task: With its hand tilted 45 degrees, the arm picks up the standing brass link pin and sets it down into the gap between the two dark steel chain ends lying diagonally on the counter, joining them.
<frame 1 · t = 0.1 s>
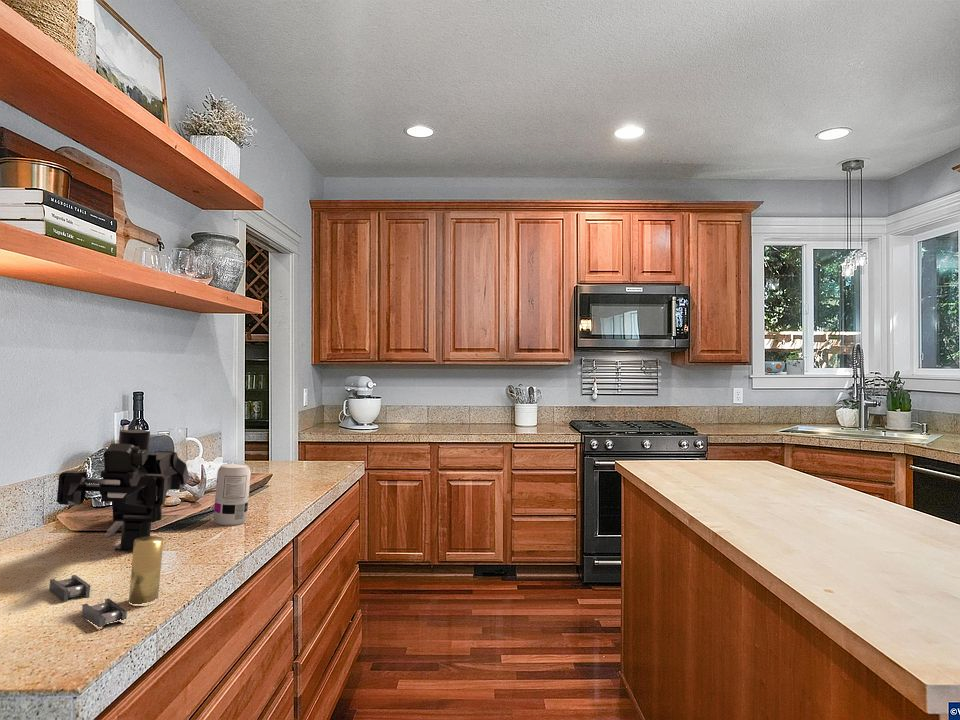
hand: (96, 499, 112), 17 cm above the countertop, tool horizontal, fingers open, 9 cm apart
caliper: (124, 526, 152), on the countertop
link pin: (143, 601, 108), on the countertop
chain end A: (69, 593, 109), on the countertop
supplement can: (229, 522, 162), on the countertop
chain end B: (103, 620, 100), on the countertop
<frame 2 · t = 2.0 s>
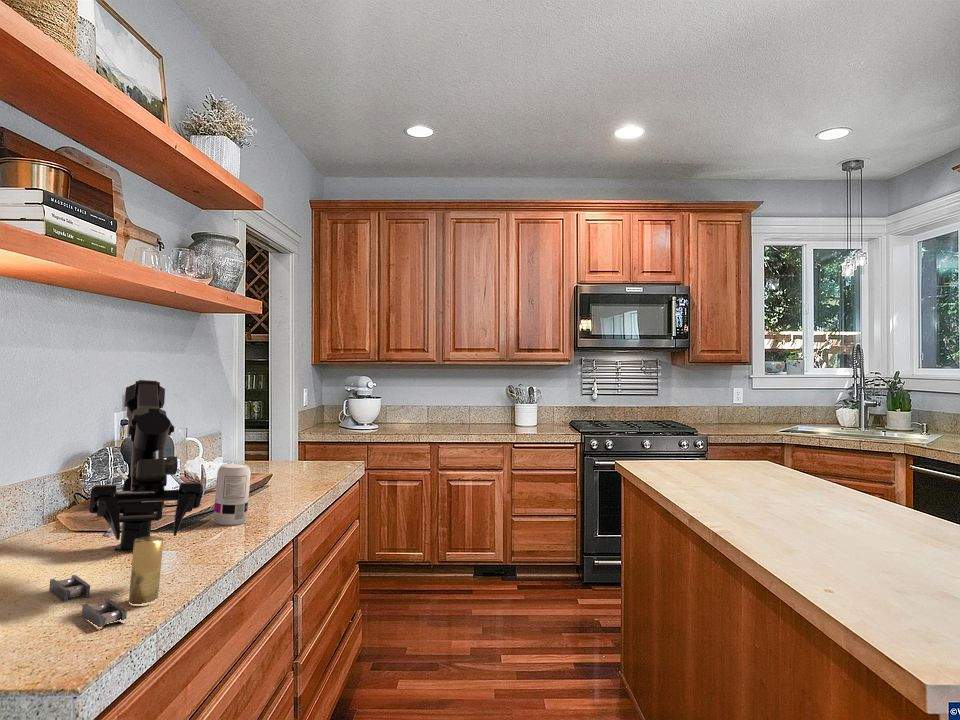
hand: (147, 536, 112), 11 cm above the countertop, tool tilted 45°, fingers open, 9 cm apart
nothing on the countertop moved.
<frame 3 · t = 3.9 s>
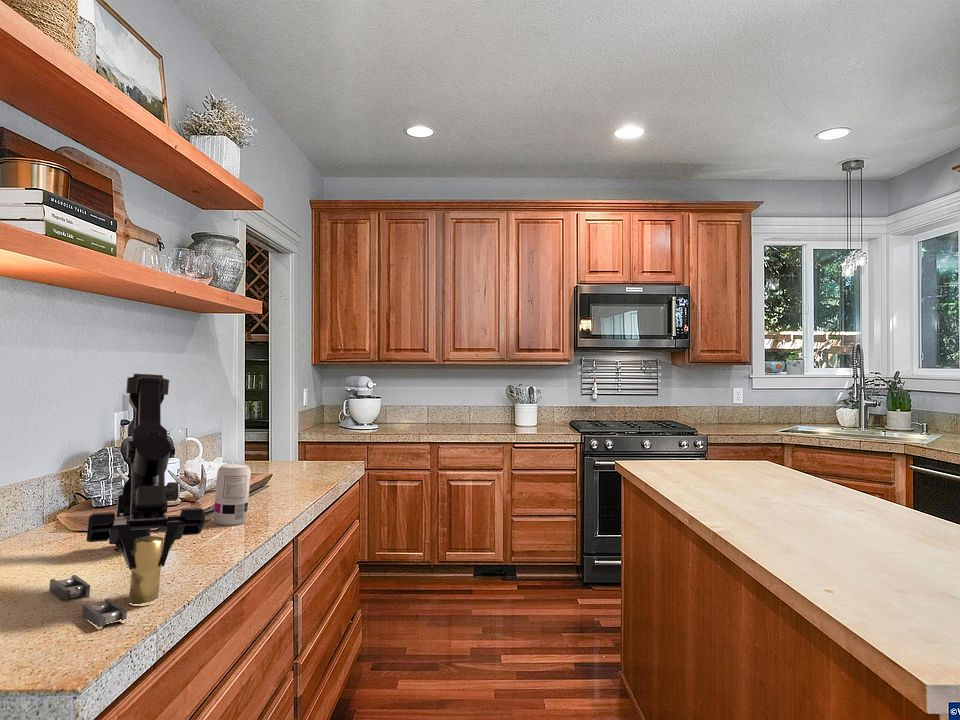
hand: (147, 567, 107), 7 cm above the countertop, tool tilted 45°, fingers closed on link pin, 5 cm apart
link pin: (143, 601, 108), on the countertop, touching gripper
everything else where it was.
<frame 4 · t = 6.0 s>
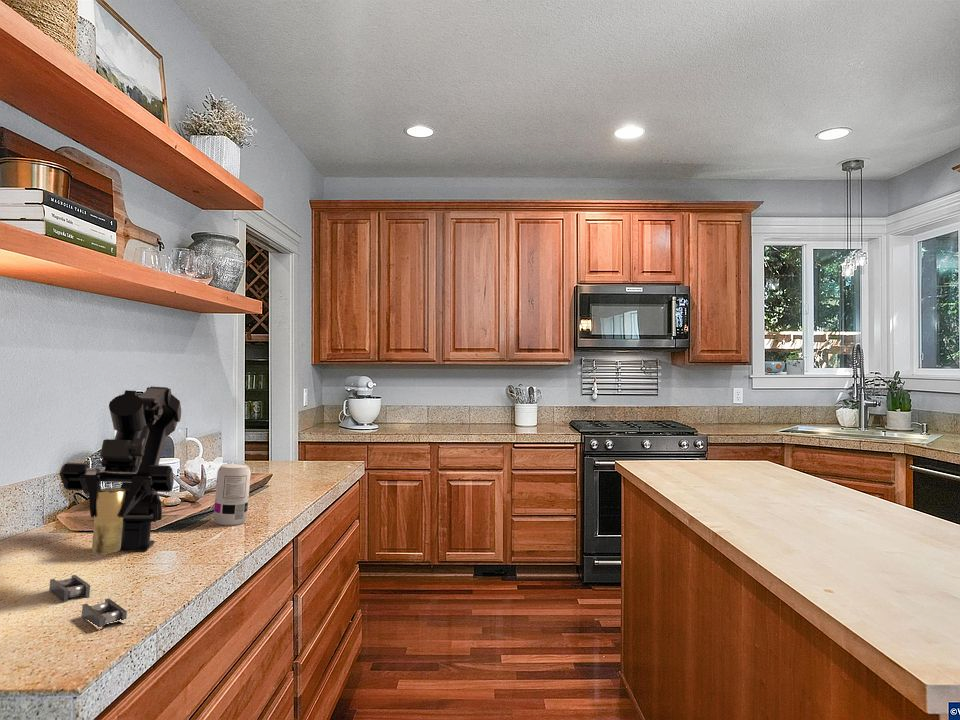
hand: (107, 516, 113), 13 cm above the countertop, tool tilted 45°, fingers closed on link pin, 5 cm apart
link pin: (106, 549, 114), point 7 cm above the countertop, touching gripper
everything else where it was.
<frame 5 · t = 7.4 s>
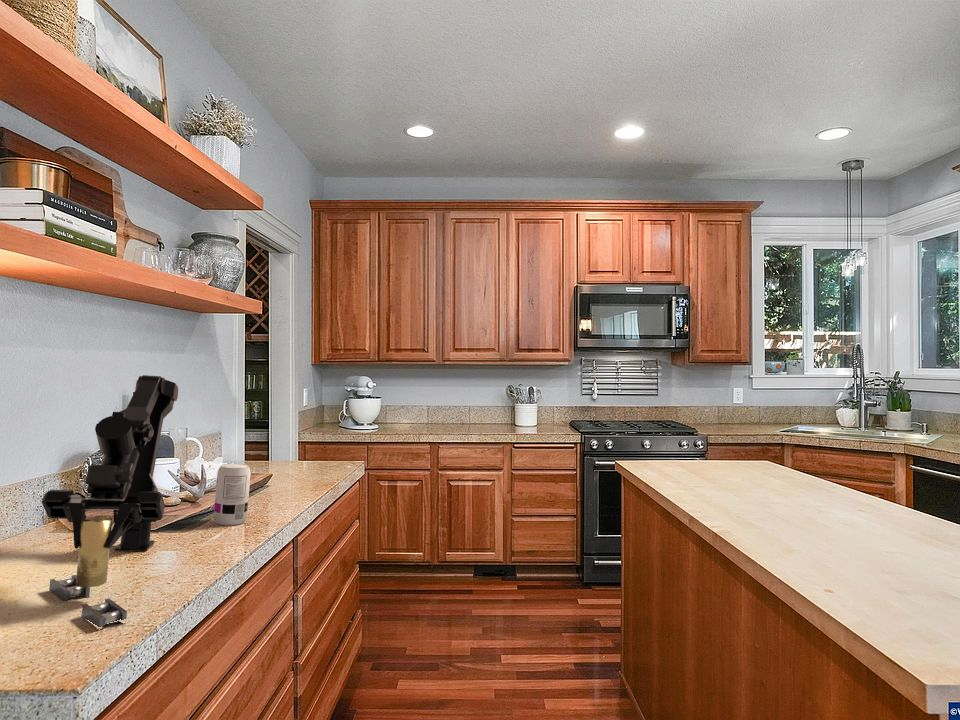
hand: (92, 547, 106), 10 cm above the countertop, tool tilted 45°, fingers closed on link pin, 5 cm apart
link pin: (91, 582, 107), point 3 cm above the countertop, touching gripper
everything else where it was.
when the fingers open (8 cm above the countertop, at t = 8.3 s): link pin drops 2 cm, on the countertop.
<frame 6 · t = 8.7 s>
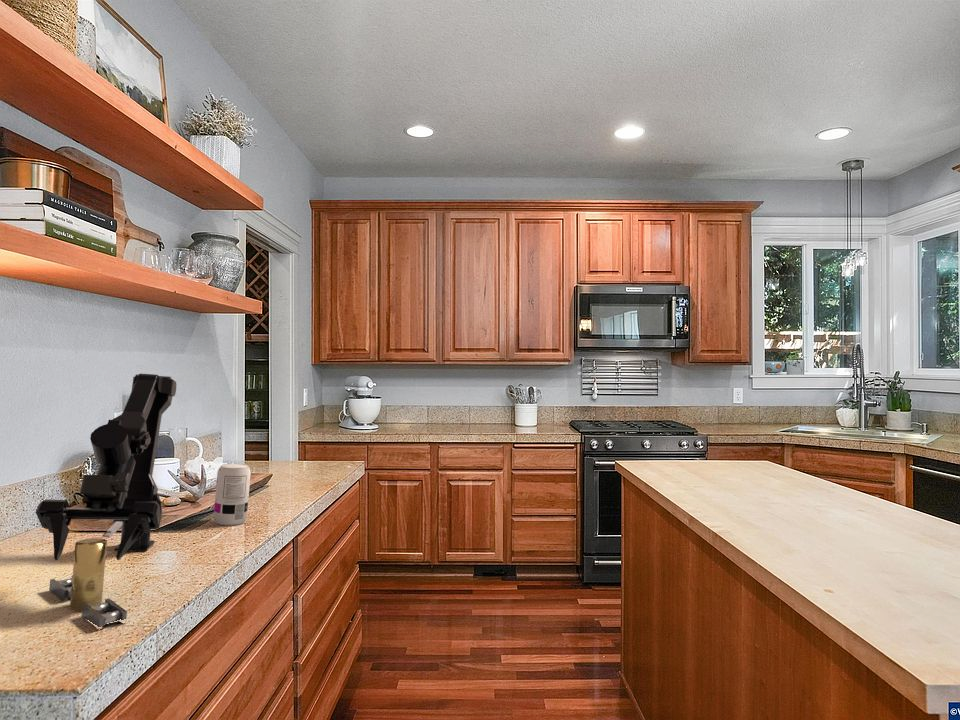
hand: (87, 559, 103), 9 cm above the countertop, tool tilted 45°, fingers open, 9 cm apart
link pin: (85, 606, 105), on the countertop
everything else where it was.
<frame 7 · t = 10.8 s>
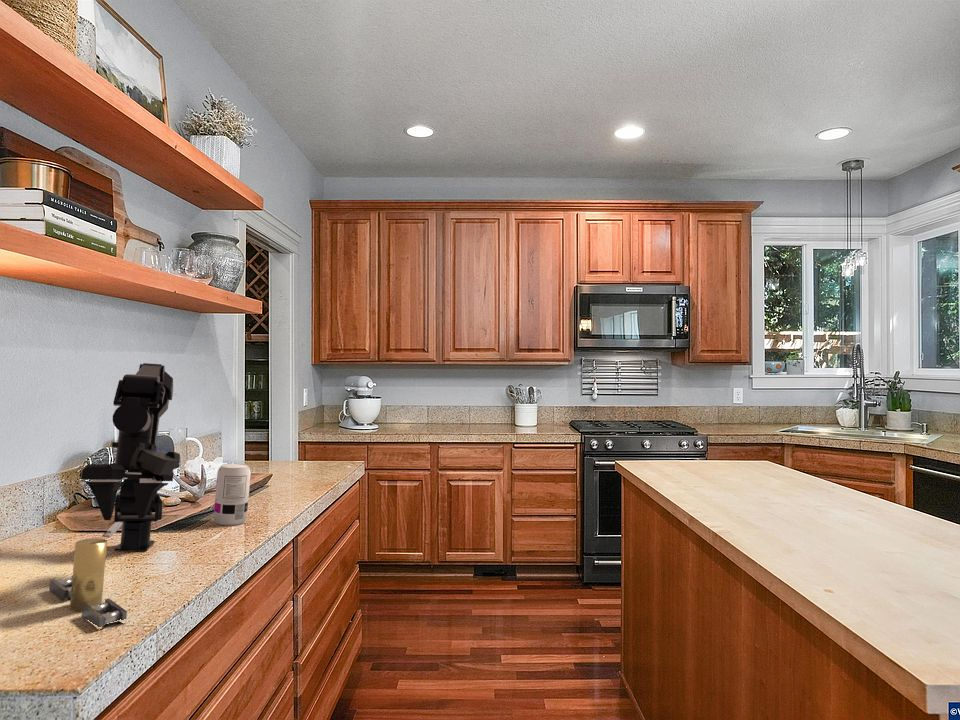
hand: (125, 519, 117), 12 cm above the countertop, tool pointing down, fingers open, 9 cm apart
nothing on the countertop moved.
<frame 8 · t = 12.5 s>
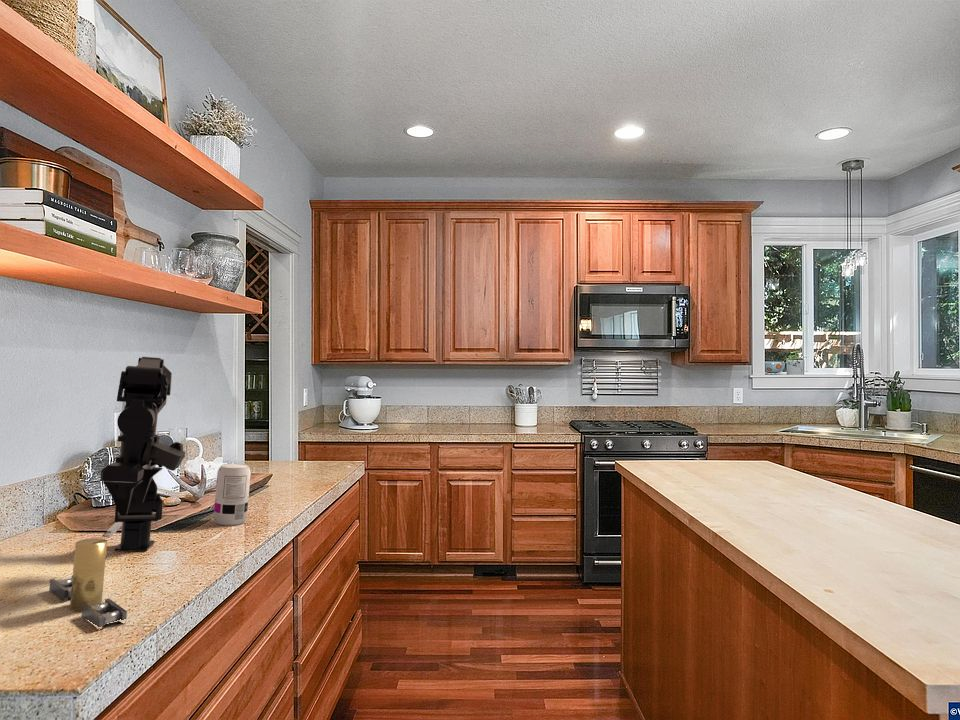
hand: (131, 509, 120), 13 cm above the countertop, tool pointing down, fingers open, 9 cm apart
nothing on the countertop moved.
at the end: link pin 0.1 cm from the target spot, on the countertop; link pin tilted 0°; the gripper is holding nothing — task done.
